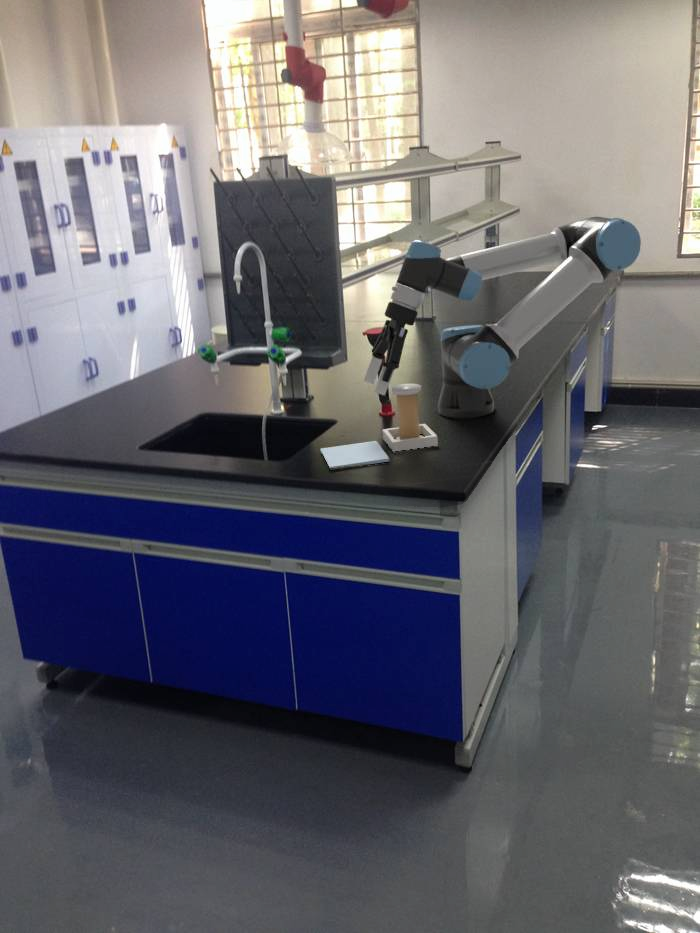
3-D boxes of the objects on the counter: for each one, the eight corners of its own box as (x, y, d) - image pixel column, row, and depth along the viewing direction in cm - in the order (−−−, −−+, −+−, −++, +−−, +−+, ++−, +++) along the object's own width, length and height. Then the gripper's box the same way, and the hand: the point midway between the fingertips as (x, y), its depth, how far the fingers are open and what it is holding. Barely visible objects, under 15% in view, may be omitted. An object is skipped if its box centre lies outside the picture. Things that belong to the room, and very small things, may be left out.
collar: (425, 433, 211) (424, 423, 210) (437, 445, 201) (437, 436, 200) (383, 439, 209) (382, 429, 208) (393, 452, 199) (392, 442, 198)
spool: (419, 436, 209) (416, 382, 204) (427, 444, 202) (424, 388, 198) (392, 440, 208) (388, 385, 203) (399, 448, 201) (395, 392, 196)
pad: (376, 444, 206) (376, 440, 205) (389, 462, 193) (389, 458, 192) (320, 452, 204) (320, 448, 203) (330, 471, 191) (329, 466, 190)
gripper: (379, 295, 212) (350, 373, 216) (401, 306, 188) (369, 393, 193) (406, 304, 214) (377, 382, 218) (431, 317, 190) (398, 403, 195)
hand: (373, 387), depth 206 cm, fingers open, 13 cm apart
